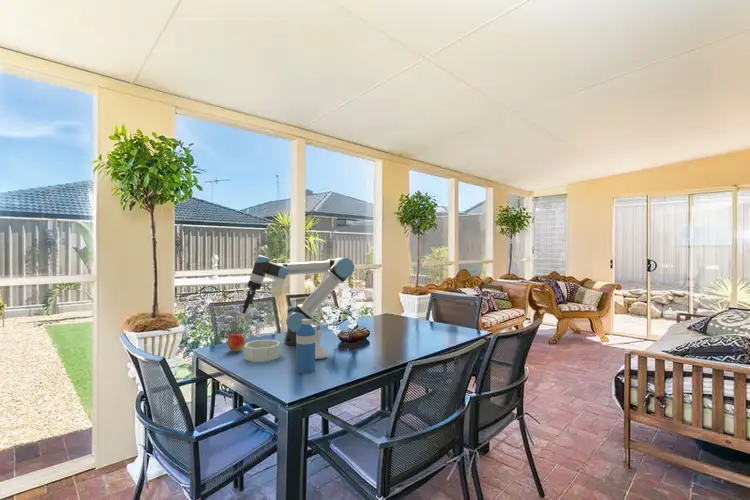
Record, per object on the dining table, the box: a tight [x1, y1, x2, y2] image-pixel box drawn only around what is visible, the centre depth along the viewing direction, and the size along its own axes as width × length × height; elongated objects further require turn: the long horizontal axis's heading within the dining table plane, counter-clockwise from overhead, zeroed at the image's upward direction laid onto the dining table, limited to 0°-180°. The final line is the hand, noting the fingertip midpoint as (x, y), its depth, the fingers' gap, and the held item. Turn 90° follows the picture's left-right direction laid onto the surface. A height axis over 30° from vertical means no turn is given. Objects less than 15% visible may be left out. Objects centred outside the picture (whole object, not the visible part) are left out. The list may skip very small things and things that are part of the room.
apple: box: [227, 333, 246, 352], centre depth 218 cm, size 10×10×10 cm
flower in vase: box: [315, 311, 329, 360], centre depth 207 cm, size 13×11×25 cm
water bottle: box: [295, 319, 316, 375], centre depth 185 cm, size 9×9×25 cm
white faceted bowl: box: [243, 339, 281, 363], centre depth 207 cm, size 18×18×7 cm
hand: (243, 316), depth 219 cm, fingers open, 13 cm apart
